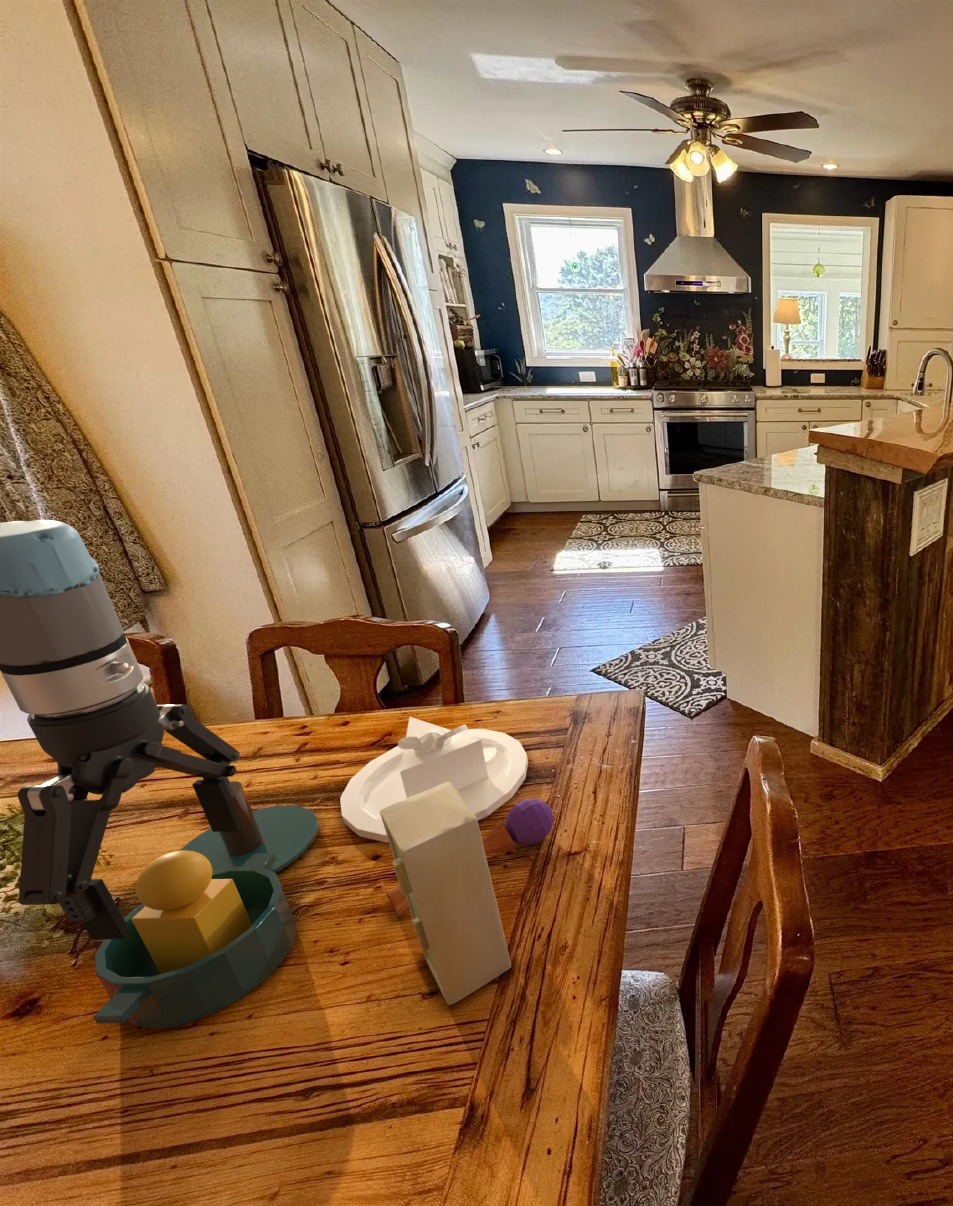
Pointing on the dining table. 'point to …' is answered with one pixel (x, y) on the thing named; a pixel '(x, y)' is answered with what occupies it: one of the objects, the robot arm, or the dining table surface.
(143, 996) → the pot
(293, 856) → the lid
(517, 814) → the kendama
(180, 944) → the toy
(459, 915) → the toy refrigerator
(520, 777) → the dish
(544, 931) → the dining table surface
